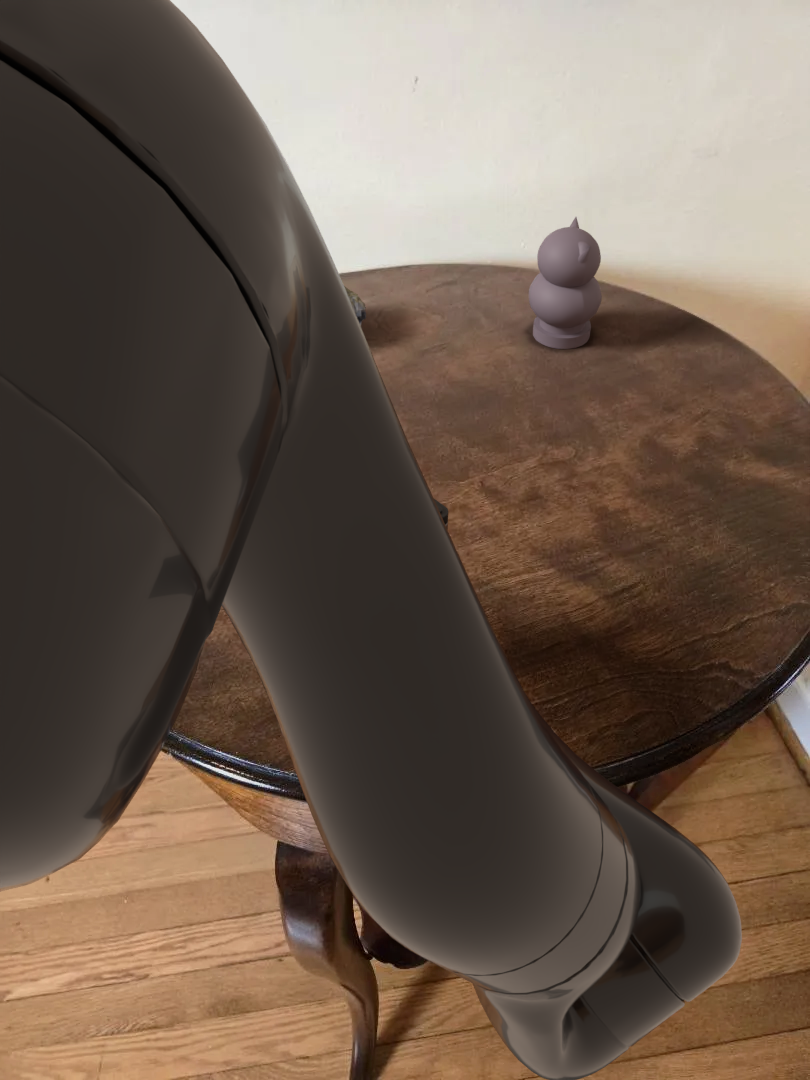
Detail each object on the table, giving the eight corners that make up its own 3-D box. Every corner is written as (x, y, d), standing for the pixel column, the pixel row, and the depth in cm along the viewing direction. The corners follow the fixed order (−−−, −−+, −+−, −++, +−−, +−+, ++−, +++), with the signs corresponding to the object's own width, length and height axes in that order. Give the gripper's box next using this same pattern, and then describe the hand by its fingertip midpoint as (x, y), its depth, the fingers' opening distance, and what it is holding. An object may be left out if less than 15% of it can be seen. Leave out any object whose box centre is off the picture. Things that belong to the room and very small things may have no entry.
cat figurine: (519, 316, 98) (528, 214, 90) (586, 313, 98) (601, 211, 90) (531, 355, 92) (542, 249, 84) (603, 352, 92) (620, 246, 84)
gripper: (526, 550, 43) (378, 389, 54) (264, 653, 39) (161, 453, 50) (514, 644, 49) (382, 479, 59) (282, 745, 44) (185, 545, 55)
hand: (282, 468), depth 54 cm, fingers closed on teal block, 5 cm apart
